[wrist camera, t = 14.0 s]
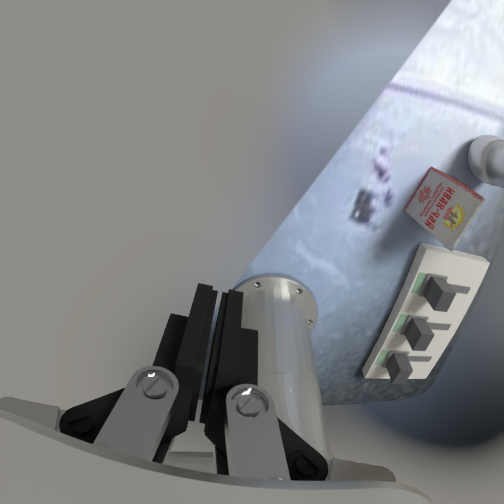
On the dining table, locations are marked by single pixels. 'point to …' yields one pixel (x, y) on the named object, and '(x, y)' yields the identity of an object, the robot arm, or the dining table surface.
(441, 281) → the block
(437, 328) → the panel
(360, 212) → the dining table surface
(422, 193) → the white printed box
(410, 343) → the block
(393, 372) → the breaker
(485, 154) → the plastic bottle
